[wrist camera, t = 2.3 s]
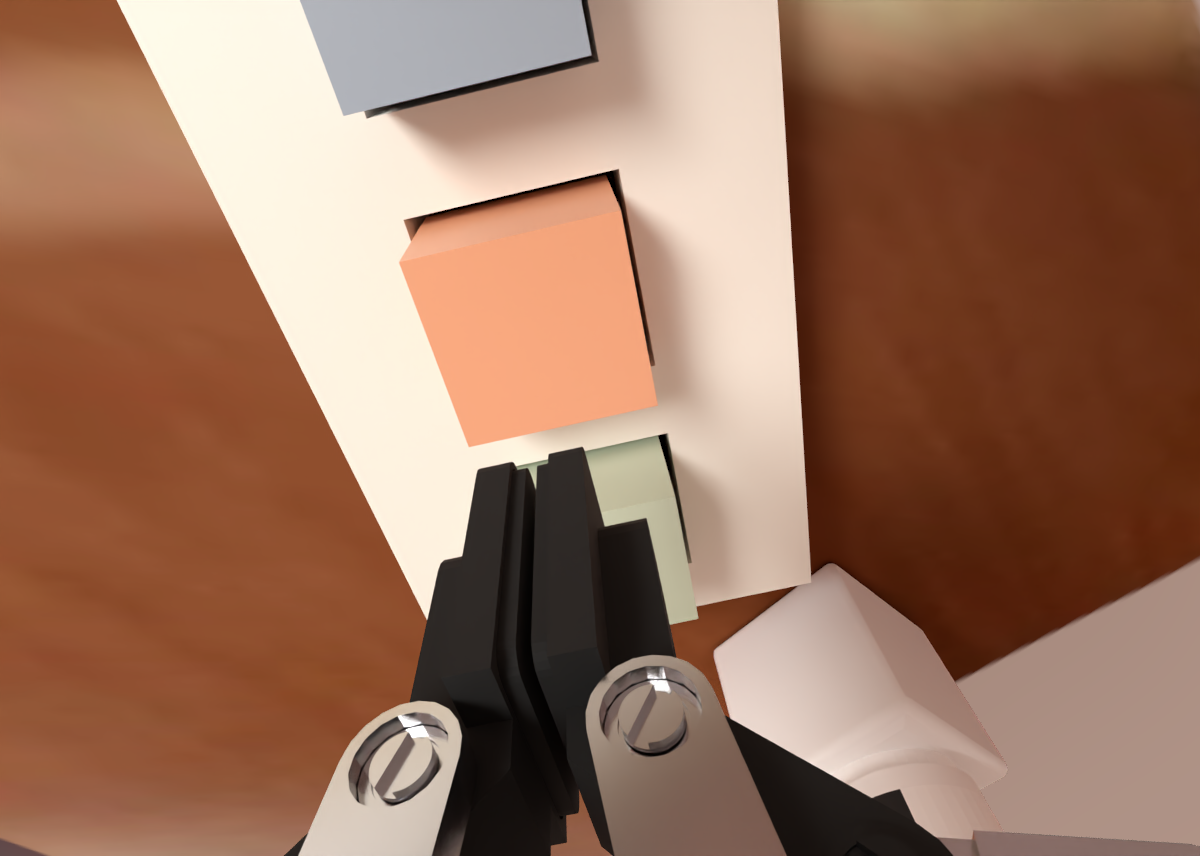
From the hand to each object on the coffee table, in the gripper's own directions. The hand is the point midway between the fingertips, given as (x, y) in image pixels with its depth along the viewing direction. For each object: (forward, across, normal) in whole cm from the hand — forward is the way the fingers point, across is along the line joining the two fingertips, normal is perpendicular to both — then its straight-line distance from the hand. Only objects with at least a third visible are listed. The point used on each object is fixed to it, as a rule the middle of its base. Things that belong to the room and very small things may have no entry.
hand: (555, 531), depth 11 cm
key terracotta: (+10, 0, -1) cm, 10 cm away
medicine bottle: (+13, -8, +19) cm, 24 cm away
